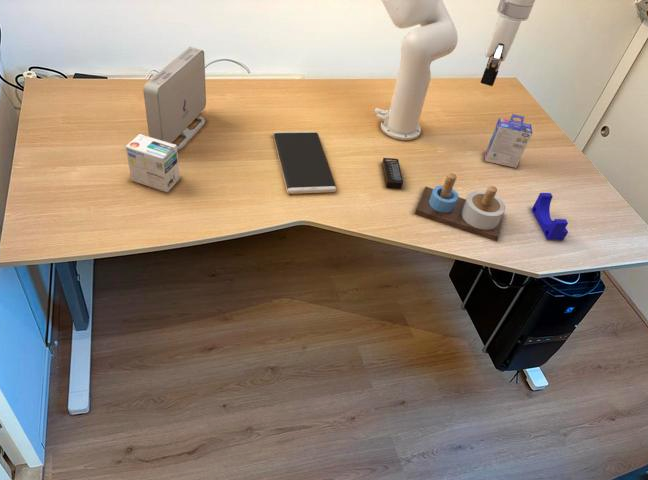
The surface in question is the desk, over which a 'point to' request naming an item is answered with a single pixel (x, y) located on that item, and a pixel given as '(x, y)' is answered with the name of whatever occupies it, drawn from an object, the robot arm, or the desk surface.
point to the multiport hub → (392, 173)
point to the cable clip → (549, 218)
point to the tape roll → (443, 200)
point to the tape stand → (467, 210)
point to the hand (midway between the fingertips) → (489, 76)
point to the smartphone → (303, 163)
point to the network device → (176, 97)
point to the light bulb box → (153, 162)
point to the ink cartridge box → (508, 141)
